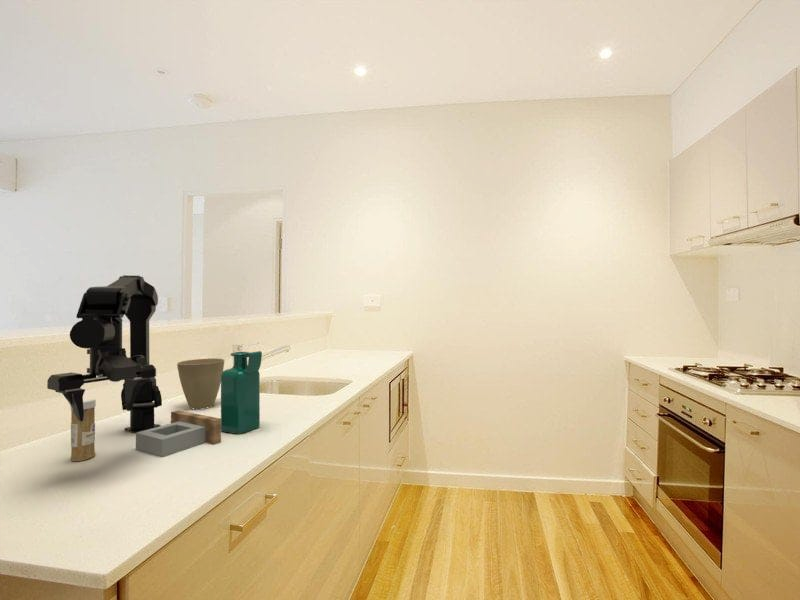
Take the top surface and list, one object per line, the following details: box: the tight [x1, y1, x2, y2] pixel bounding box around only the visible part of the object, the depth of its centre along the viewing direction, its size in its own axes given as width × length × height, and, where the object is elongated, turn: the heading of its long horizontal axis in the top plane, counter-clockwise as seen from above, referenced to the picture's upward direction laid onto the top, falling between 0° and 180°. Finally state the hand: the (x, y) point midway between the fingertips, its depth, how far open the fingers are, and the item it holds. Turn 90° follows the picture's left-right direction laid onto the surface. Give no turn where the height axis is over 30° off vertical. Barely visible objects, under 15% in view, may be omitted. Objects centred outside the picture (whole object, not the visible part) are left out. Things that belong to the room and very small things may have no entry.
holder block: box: [135, 421, 206, 458], centre depth 99 cm, size 11×11×4 cm
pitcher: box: [220, 350, 263, 435], centre depth 113 cm, size 10×8×22 cm
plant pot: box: [176, 357, 225, 410], centre depth 138 cm, size 15×15×16 cm
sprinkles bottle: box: [69, 397, 97, 462], centre depth 92 cm, size 5×5×14 cm
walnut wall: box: [170, 410, 222, 445], centre depth 105 cm, size 18×2×6 cm, turn 62°
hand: (105, 415), depth 87 cm, fingers open, 9 cm apart
